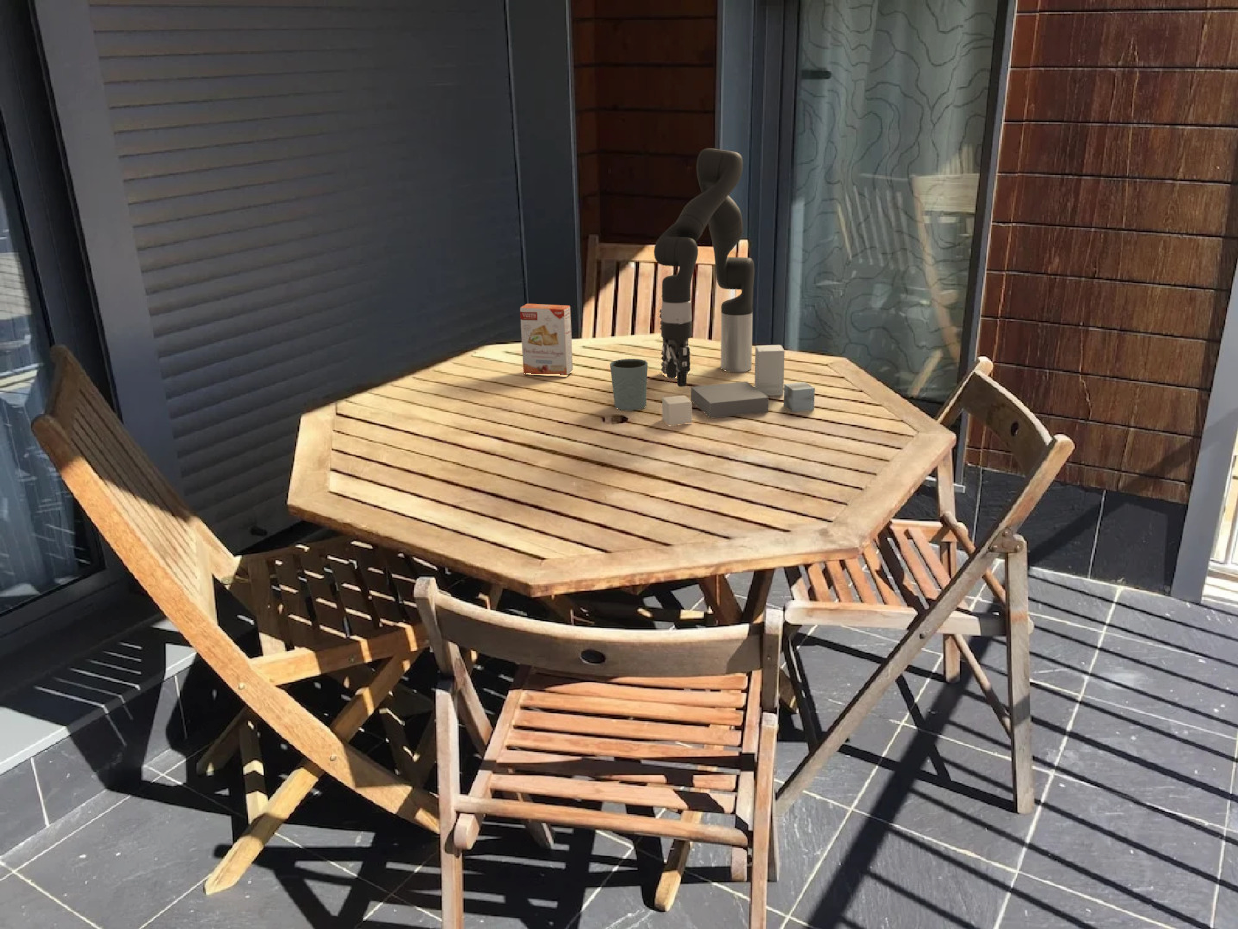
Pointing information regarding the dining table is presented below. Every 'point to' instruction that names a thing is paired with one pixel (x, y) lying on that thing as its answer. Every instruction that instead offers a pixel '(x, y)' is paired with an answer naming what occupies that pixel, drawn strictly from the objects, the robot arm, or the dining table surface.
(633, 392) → the green cup
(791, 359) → the dining table surface
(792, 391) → the grey cube
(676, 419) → the white cube
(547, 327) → the cracker box
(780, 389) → the supplement box
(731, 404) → the plinth
